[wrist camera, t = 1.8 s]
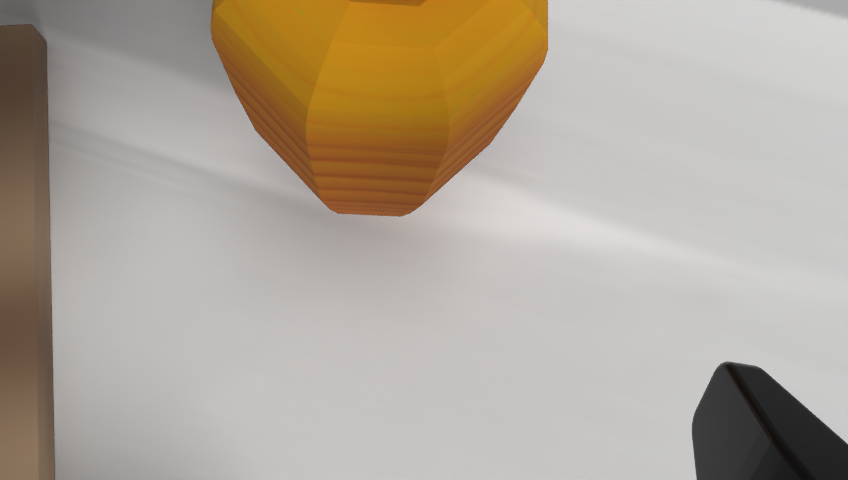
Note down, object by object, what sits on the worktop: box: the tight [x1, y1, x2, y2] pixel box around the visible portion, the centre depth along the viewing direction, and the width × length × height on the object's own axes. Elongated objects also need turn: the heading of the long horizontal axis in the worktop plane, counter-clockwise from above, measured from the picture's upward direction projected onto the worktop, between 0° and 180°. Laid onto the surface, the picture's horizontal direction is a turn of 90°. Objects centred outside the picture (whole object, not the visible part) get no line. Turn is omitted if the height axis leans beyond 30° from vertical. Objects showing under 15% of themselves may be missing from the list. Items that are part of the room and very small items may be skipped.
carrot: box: [211, 0, 548, 216], centre depth 14 cm, size 5×5×15 cm
